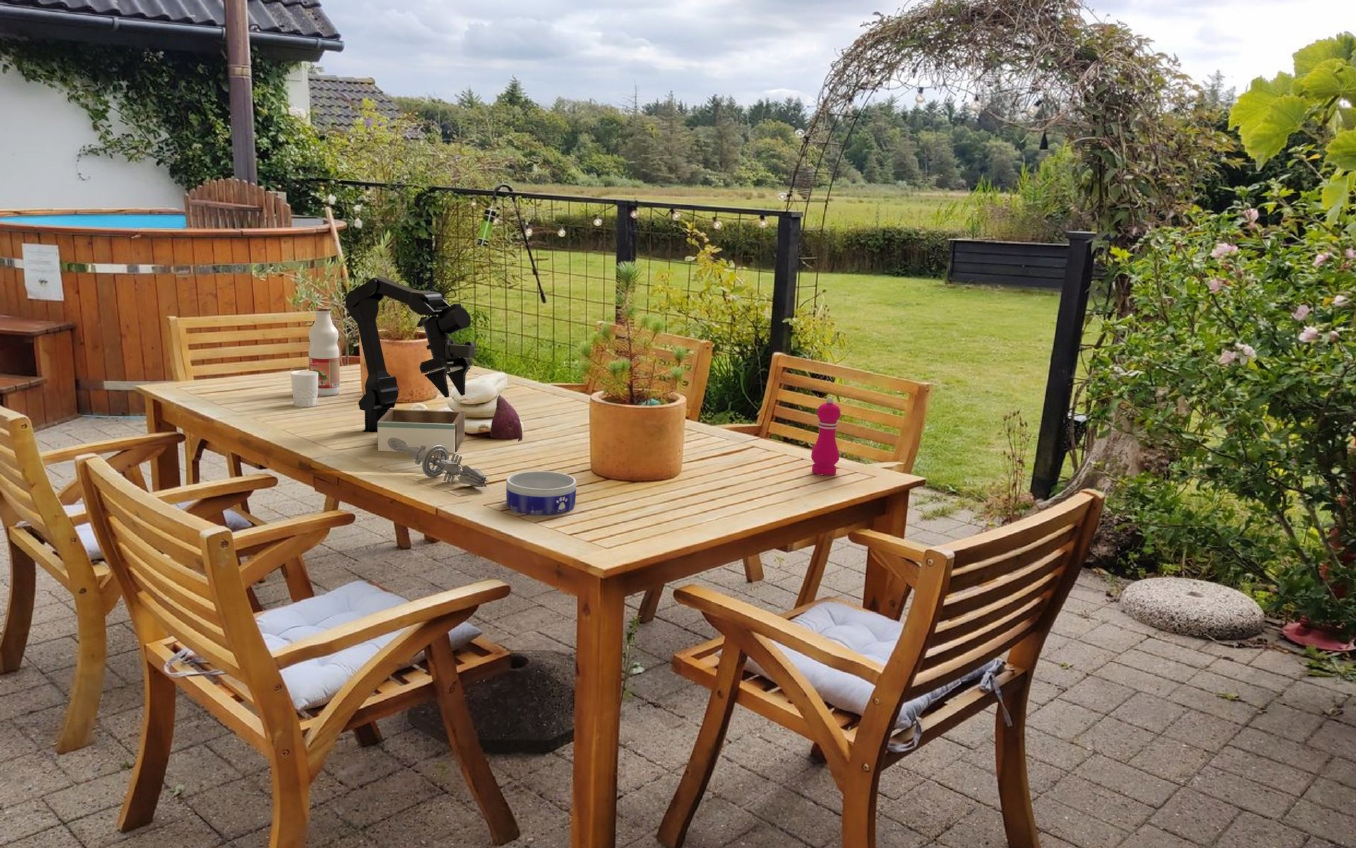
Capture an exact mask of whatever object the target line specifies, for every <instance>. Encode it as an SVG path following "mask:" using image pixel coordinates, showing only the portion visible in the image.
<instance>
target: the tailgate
mask: <svg viewBox="0 0 1356 848" xmlns="http://www.w3.org/2000/svg"><path fill="white" fill-rule="evenodd" d="M390 438H398V439H401V440H403V441H405V442H406V443H407V444H408V445H409V446H410V447H418V448H421V445H424V446H426V449H425V450H426V451H428V450H429V449H430V448H432V447H434V446H437V445H441V446H444V447H445V448H446V449H447V451H448V454H453V453H454V454H456V452H455V424H443V423H413V422H383V421H379V422H378V432H377V451H378V452H393V453H394V452H398V451H396V450H393V449H392V448H390V446H389V445H388V439H390ZM398 453H399V452H398Z"/></svg>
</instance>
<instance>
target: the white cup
mask: <svg viewBox="0 0 1356 848" xmlns="http://www.w3.org/2000/svg"><path fill="white" fill-rule="evenodd" d="M290 378H291V379H290V380H291V390H292V400H293V401H292V402H293V405H294V407H298V408H299V407H300V408H310V407H312V408H313V407H316V406H317V405H318V396H319V395H318V372H315V371H309V370H296V371H295V370H294V371H291V372H290Z"/></svg>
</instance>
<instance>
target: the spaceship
mask: <svg viewBox="0 0 1356 848" xmlns="http://www.w3.org/2000/svg"><path fill="white" fill-rule="evenodd" d="M388 445H389V446H390V448H392V449H393V450H396V451H398V453H401V454H404V453H407V454H408V455H409V456H411V458H413V459H415V461H414V463H415V464H416V465H421V469H422V471H423V473H424V475H425V476H427V477H429V478H436V477H439V476H440V475H441V474H443V473H444V477H443V479H442V481H443V482H446V483H449V484H451V485H452V484H453V482H454V481H455V478H457V479H458V482H459V484H464V485H469V486H470V487H477V488H478V487H479V488H487V484H486V482H489V481H490V480H489V478H487V476H486V475H485V474H484V473H483V471H481V470H480V469H479V468H471V467H470V466H468V465H462V464H461V462H462V458H463V456H461V455H460V456H459V455H458V454H457V453H452V456H451V458H450V455H449V454H450V453H448V451H447V449H446V448H445V447H444V446H441V445H437V446H434V447H432V448H430V449H429V450H428V451H426V450H425V449H426V446H424V445H421V448H418V447H410V446H409V445H408V444H407V443H406V442H405V441H403V440H401V439H398V438H390V439H388ZM436 454H437V455H436ZM439 456H440V457H439Z"/></svg>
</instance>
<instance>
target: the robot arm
mask: <svg viewBox="0 0 1356 848" xmlns="http://www.w3.org/2000/svg"><path fill="white" fill-rule="evenodd" d="M385 297H387V298H390V299H392V300H394V301H398V302H401V303H402V304H406V305H407V306H408V307H409V310H411V311H412V312H414V313H415V314H417V315H419V316H421V317H420V319H419V321H418V322H417V325H416V326H417V328H423V329H424V332H425V335H426V336H425V337H426V339H427V342H428V345H425V347H426V350H428V351H429V350H430V353H431V357H432V358H430V359H427V360H425V361H421V362H420V365H419V366H418V367H419V371H420V374H424V377H425V378H427V379H428V380H429V381H430V382H431V383H432V384H433V385H434V387H435V388H436V389H437V390H438V391H439V392H440V393H441V395H442V396H443V397H444V398H449V397H450V392H449V391H450V389H449V384H448V380H447V376H448V378H449V379H450V381H451V382H452V384H453V386H454V387H455V389H456V390H457V392H458V394H459V395H460V396H461V397H463V396H465V395H466V377H467V376H466V375H467V373H468V372H469V370H471V367H472V366H473V362H472V359H474V358H475V356H476V354H475V353H476V352H478V349H477V347H476V345H475V343H474V342H473V341H465V342H464V344H457V342H456V341H455V340H454V339H451V337H450V335H453V334H454V333H458V332H459V331H460V332H461V331H462V330H465V329H467V328H469V327H470V326H471V323H472V319H471V314H470V313H469V312H468V311H467V310H466V309H465V308H464V307H462V304H461V302H460V303H459V302H458V303H452V304H451V305H450V304H449V303H448V302H447V301H446V300H445V299H444V298H443V296H442V294H441V293H440V292H437V291H432V290H431V291H429V290H418V289H415V288H413V287H409V286H407V285H403V284H402V283H399V282H396V281H393V280H391V279H389V278H387V277H386V276H379V277H378V276H377V277H372V278H370V279H368V280H367V282H365V283H363V284H360V285H359V286H357V287H355V288H354V289H352V290H350V291H348V292H347V294H346V296H345V298H344V302H345V305H346V308H347V312H348V314H349V316H350V317H351V318H352V319H353V320H354V321H355V323H356V325H357V328H358V334H359V338H360V342H361V347H362V350H363V351H362V352H363V357H364V360H365V366H366V369H367V370H366V371H367V378H366V381H365V384H364V390H365V391H364V392H365V394H364V395H363V396H362V397H361V399H359V401H357V402H358V407H359V410H360V411H364V429H363V431H362V432H363V433H378V432H377V422H378V421H379V420H380V419H381V418H382V417H383V415H384V414H385V413H386V412H387V411H388V410H389V409H395V406H396V403H397V400H398V398H399V391H400V387H399V386H398V380H397V379H398V378H397V377H396V376H395V375H393V376H392V375H391V374H390V373H389V372H388V371H387V368H386V362H385V358H384V354H383V347H382V345H381V340H380V335H379V330H378V326H377V325H378V324H377V318H378V314H379V310H380V308H379V307H380V305H379V303H381V301H382V300H384V298H385Z"/></svg>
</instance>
